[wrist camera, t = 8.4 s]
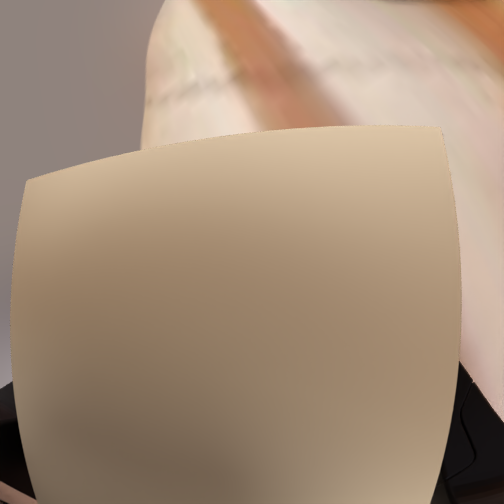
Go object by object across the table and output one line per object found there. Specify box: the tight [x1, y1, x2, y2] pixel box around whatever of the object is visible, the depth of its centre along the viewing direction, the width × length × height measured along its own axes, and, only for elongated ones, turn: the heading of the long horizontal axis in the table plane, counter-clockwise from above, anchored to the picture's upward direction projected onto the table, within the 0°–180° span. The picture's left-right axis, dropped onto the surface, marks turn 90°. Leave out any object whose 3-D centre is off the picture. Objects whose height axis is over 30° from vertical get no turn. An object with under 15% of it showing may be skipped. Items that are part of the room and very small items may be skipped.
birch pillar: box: [10, 125, 462, 504], centre depth 9 cm, size 6×6×12 cm
